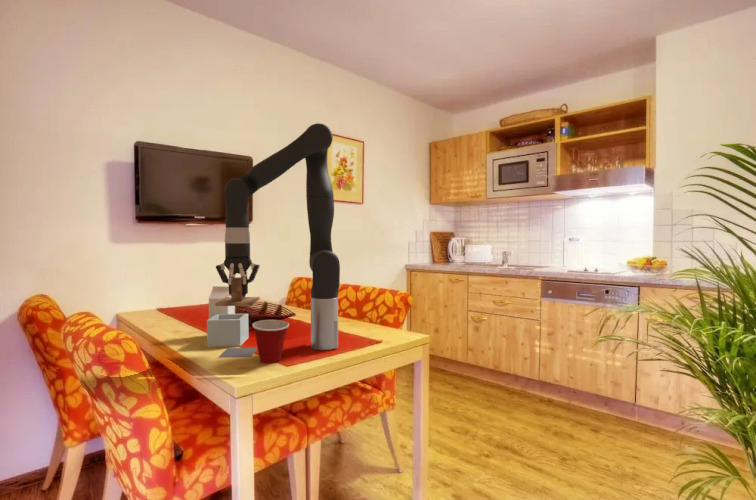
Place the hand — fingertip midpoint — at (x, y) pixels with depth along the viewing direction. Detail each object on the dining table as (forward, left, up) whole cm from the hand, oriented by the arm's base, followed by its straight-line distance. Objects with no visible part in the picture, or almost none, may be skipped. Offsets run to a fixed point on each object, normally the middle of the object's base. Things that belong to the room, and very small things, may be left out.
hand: (238, 295), depth 127 cm
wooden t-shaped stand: (0, 0, -2) cm, 2 cm away
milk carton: (+12, -23, -19) cm, 32 cm away
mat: (0, 0, -19) cm, 19 cm away
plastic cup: (-12, +9, -19) cm, 24 cm away
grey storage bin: (+7, -13, -19) cm, 24 cm away
